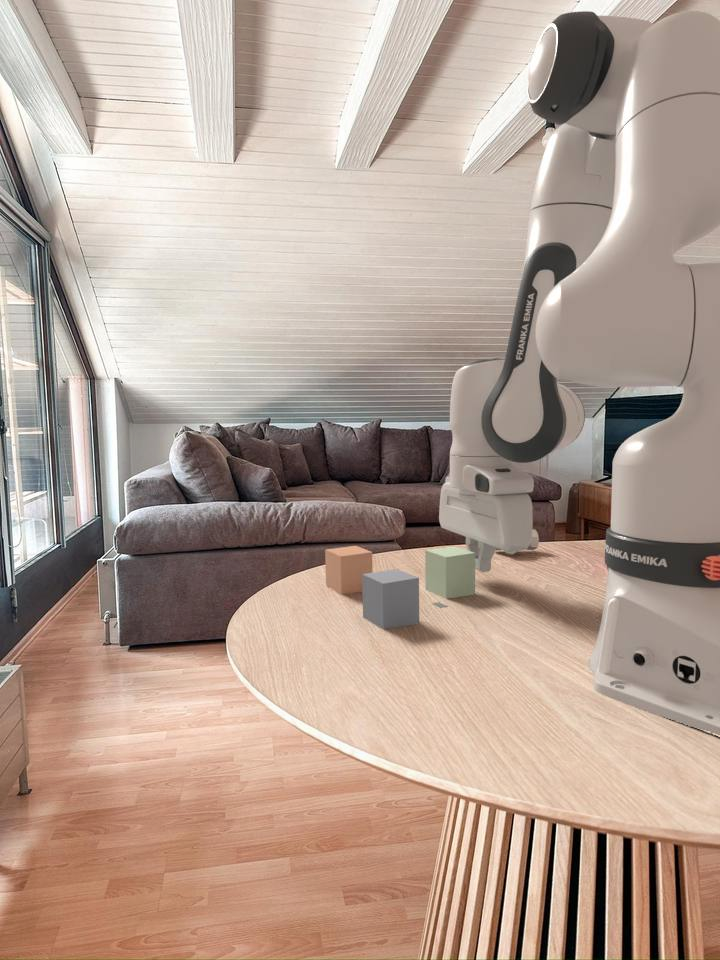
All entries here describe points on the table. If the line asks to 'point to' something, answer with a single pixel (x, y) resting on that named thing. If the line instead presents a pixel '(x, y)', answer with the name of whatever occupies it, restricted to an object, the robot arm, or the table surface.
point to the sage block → (450, 572)
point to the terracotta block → (347, 568)
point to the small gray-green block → (439, 604)
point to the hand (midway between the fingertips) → (480, 569)
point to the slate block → (391, 598)
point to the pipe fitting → (532, 545)
